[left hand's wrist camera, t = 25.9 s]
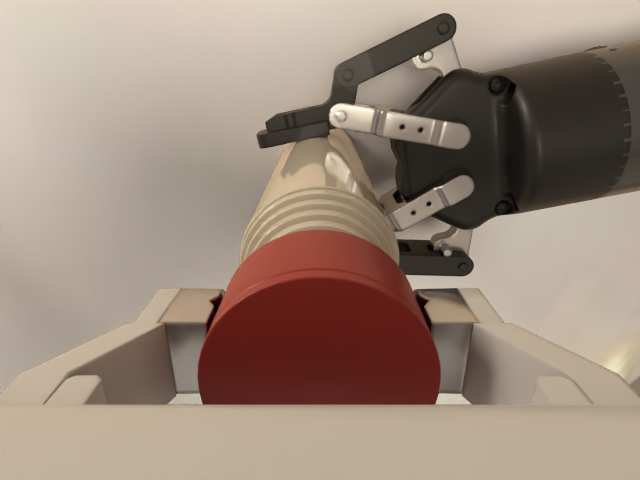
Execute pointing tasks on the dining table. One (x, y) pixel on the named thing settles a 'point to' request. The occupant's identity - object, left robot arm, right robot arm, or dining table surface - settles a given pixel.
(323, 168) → the bottle
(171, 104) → the dining table surface
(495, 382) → the left robot arm
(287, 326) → the cap
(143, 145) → the dining table surface
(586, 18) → the dining table surface
